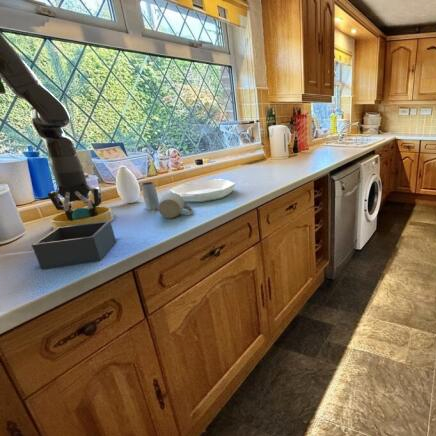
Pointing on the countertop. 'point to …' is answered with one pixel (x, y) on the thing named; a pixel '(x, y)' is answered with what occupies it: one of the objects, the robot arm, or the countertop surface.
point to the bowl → (103, 216)
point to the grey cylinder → (150, 195)
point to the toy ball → (81, 213)
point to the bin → (74, 245)
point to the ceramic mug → (173, 206)
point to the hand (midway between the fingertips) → (84, 219)
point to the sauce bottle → (127, 185)
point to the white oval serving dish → (204, 190)
